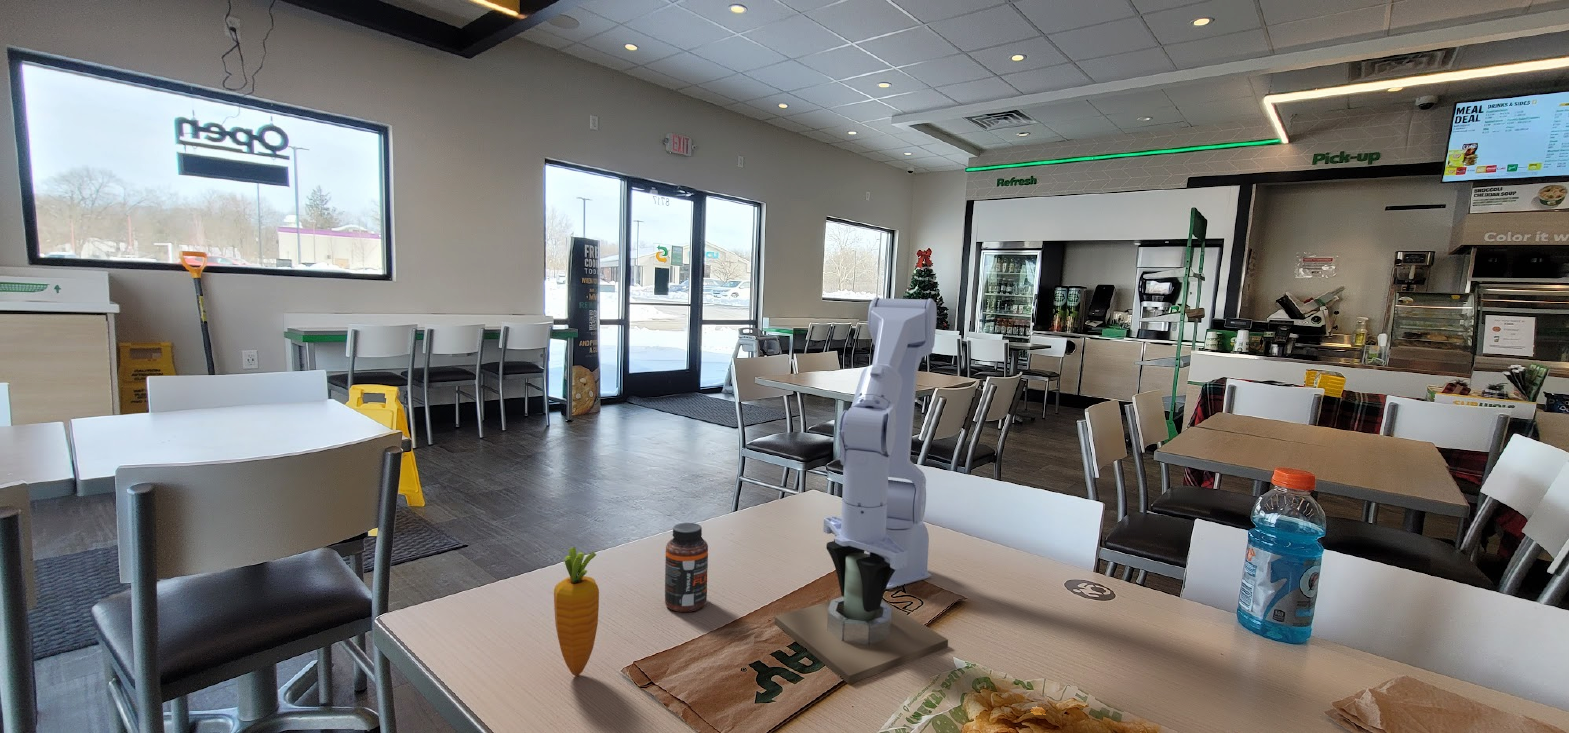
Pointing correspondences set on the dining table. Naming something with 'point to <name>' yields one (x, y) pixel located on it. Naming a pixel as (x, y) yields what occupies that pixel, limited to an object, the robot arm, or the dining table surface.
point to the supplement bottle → (686, 568)
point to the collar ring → (858, 624)
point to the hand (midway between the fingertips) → (860, 602)
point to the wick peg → (855, 590)
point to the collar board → (859, 658)
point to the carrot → (576, 612)
